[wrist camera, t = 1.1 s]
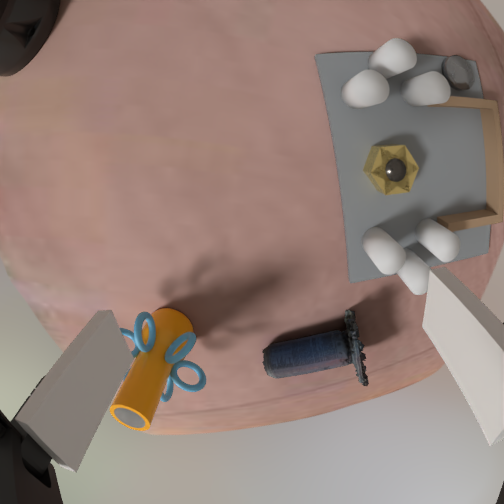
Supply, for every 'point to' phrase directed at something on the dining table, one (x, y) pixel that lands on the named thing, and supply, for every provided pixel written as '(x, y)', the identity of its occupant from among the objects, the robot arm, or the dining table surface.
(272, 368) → the dark piece
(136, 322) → the cylinder
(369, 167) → the nut
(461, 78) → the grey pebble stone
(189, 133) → the dining table surface
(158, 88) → the dining table surface
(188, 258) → the dining table surface
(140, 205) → the dining table surface
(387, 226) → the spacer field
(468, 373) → the robot arm
